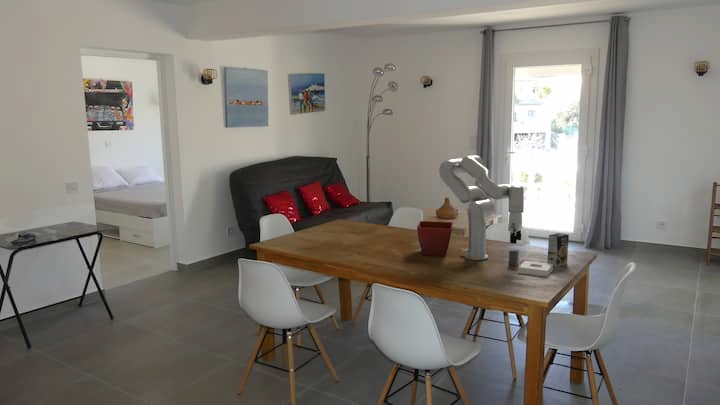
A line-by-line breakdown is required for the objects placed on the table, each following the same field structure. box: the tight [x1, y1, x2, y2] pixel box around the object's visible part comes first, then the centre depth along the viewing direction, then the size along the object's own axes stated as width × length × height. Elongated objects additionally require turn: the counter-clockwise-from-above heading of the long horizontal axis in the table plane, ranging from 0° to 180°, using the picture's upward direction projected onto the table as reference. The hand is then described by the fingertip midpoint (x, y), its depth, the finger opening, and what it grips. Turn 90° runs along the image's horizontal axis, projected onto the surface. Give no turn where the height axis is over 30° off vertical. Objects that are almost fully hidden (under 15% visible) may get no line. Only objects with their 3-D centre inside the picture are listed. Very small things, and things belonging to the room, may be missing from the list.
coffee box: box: [546, 232, 570, 268], centre depth 293 cm, size 9×6×16 cm
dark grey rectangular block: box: [508, 248, 520, 267], centre depth 293 cm, size 4×4×8 cm
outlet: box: [517, 260, 554, 277], centre depth 281 cm, size 14×14×3 cm
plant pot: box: [416, 220, 454, 257], centre depth 318 cm, size 19×19×17 cm
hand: (515, 241), depth 291 cm, fingers open, 9 cm apart
